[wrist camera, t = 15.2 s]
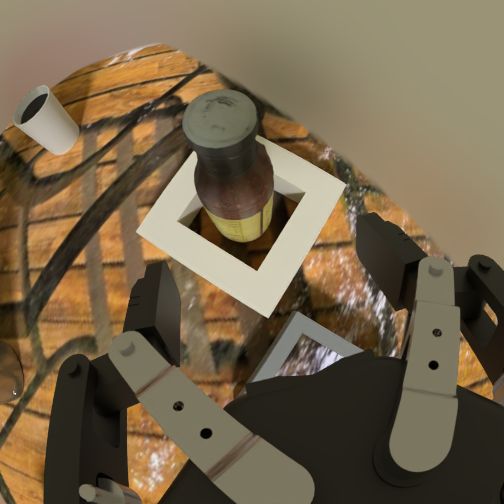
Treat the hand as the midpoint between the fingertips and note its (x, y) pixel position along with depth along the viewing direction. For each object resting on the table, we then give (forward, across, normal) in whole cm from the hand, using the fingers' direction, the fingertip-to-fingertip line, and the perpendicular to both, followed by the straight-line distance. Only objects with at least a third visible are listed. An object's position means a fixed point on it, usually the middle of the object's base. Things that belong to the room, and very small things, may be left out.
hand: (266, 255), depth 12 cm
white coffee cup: (+34, +24, -5) cm, 42 cm away
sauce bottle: (+20, 0, +9) cm, 22 cm away
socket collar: (+20, 0, +9) cm, 22 cm away
